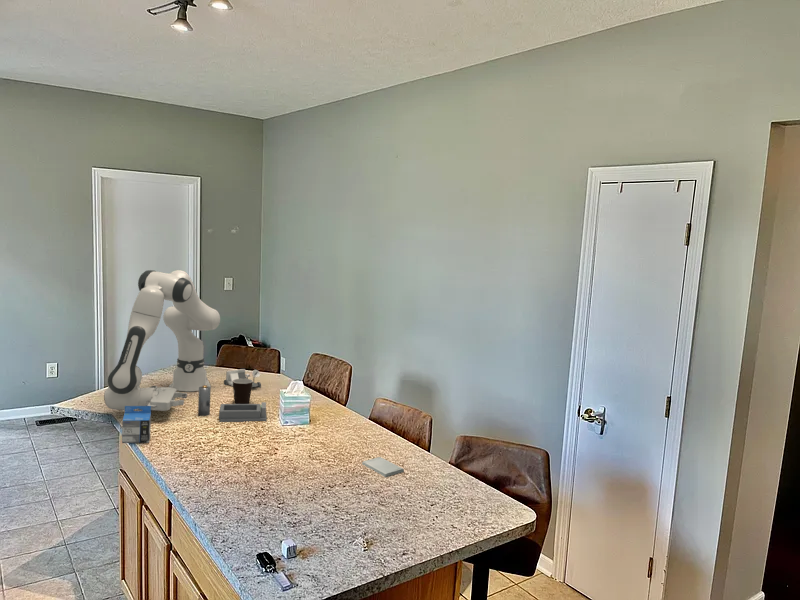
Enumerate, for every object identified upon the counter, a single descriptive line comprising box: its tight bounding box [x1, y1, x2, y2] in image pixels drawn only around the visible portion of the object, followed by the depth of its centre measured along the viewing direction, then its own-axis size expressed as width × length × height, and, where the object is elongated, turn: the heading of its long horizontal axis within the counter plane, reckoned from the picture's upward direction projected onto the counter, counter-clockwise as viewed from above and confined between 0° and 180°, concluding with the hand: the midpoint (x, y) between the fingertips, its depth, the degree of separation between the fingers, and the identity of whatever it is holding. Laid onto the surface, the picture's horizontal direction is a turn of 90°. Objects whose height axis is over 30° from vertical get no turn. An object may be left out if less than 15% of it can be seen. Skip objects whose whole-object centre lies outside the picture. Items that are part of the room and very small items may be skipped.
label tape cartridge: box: [121, 406, 152, 444], centre depth 202 cm, size 9×4×12 cm, turn 105°
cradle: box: [218, 401, 267, 423], centre depth 236 cm, size 12×18×5 cm, turn 104°
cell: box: [197, 385, 212, 417], centre depth 235 cm, size 5×5×12 cm
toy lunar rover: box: [223, 368, 262, 389], centre depth 281 cm, size 18×10×12 cm
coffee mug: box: [232, 378, 253, 404], centre depth 256 cm, size 12×9×10 cm
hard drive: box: [361, 456, 405, 478], centre depth 194 cm, size 2×8×12 cm
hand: (185, 398), depth 234 cm, fingers open, 8 cm apart
